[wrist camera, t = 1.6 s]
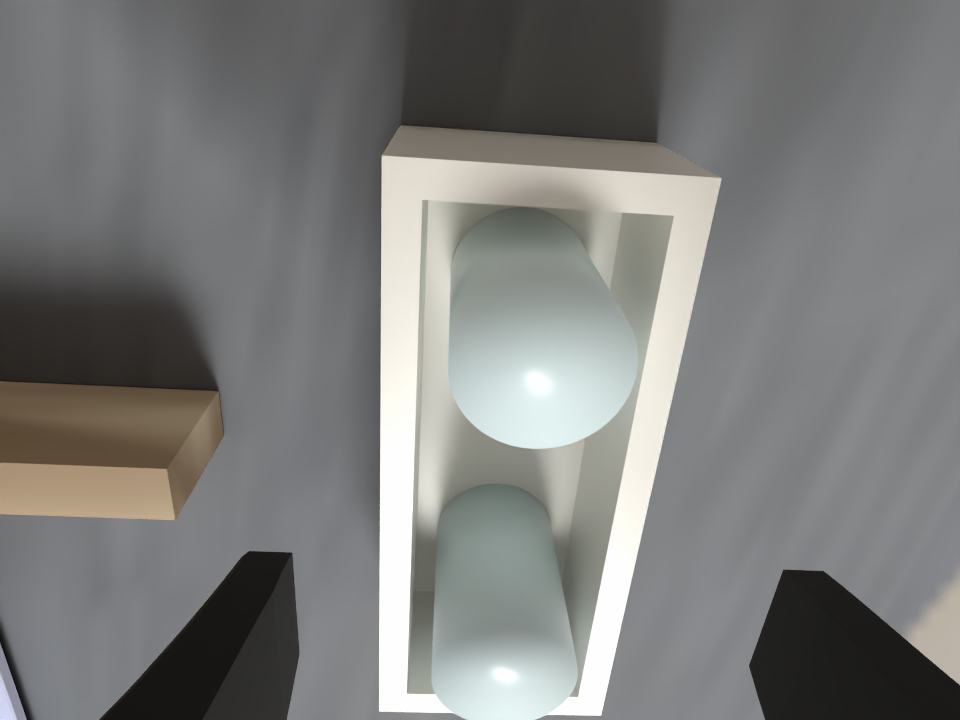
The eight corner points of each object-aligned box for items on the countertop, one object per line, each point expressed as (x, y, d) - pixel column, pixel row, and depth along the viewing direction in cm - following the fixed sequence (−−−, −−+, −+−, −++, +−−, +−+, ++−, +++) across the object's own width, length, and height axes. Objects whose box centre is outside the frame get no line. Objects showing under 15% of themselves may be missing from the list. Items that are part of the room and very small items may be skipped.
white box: (575, 597, 18) (611, 767, 14) (392, 592, 18) (372, 764, 14) (657, 143, 13) (753, 196, 9) (400, 124, 13) (372, 171, 8)
